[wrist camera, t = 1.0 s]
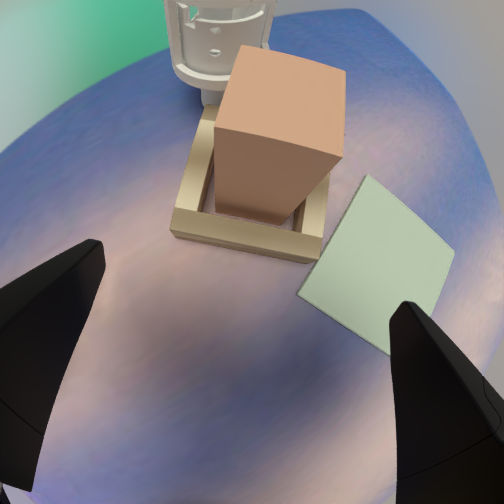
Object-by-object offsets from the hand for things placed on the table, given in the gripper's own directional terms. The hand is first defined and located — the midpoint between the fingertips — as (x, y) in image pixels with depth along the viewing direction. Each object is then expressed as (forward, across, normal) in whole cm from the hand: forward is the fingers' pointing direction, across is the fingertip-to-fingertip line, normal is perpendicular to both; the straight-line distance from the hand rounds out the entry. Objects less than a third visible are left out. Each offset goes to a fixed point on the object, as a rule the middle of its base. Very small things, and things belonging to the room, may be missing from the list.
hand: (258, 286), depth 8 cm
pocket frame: (+15, 0, +4) cm, 16 cm away
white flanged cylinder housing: (+21, +5, -1) cm, 21 cm away
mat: (+12, -12, +7) cm, 19 cm away
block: (+15, 0, +4) cm, 16 cm away
